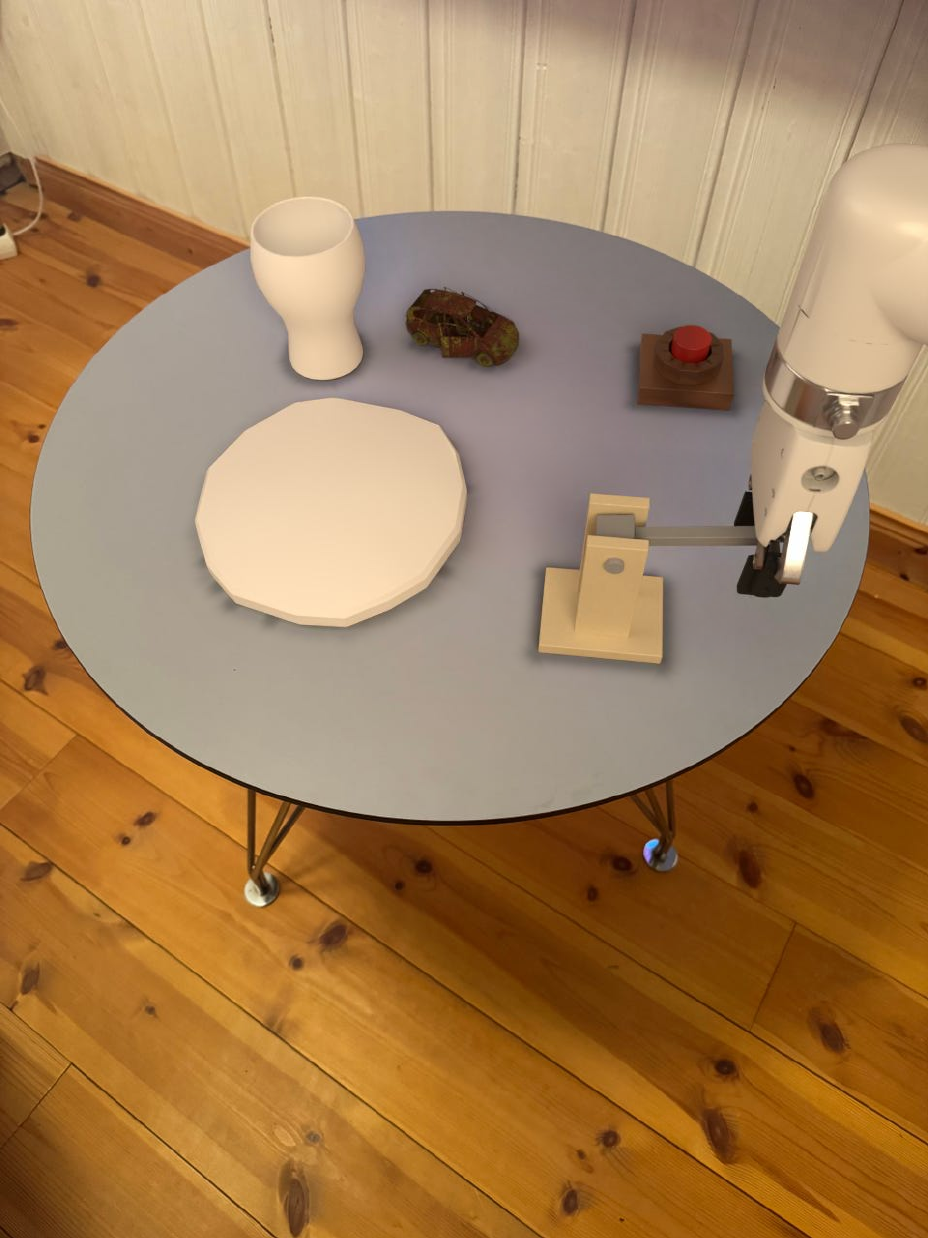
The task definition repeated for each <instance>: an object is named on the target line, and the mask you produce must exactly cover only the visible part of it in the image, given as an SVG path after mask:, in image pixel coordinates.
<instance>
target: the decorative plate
mask: <svg viewBox="0 0 928 1238" xmlns="http://www.w3.org/2000/svg"><path fill="white" fill-rule="evenodd" d="M205 471H206V472H205V475H204V481H203V484H202V488H201V493H200V497H199V501H198V505H197V509H196V513H195V517H194V524H195V528H196V532H197V536H198V539H199V542H200V546H201V550H202V554H203V557H204V562H205V565H206V568H207V570H208V572H209V574H210V575H211V577H212V578H213V579H214V581H216V583H218V585H219V586H220V587H221V588H222V589H223V590H224V592H225V593H226V594H227V595H228V596H229V597H230V598H231V600H232V601H233V602H234V603H235V604H237V605H240V606H243V607H245V608H249V609H252V610H256V611H257V612H261V613H264V614H267V615H270V616H272V617H276V618H278V619H282V620H285V621H288V622H291V623H294V624H296V625H301V626H302V625H305V626H321V627H338V628H347V627H350V626H352V625H355V624H358V623H360V622H362V621H365V620H367V619H370V618H372V617H375V616H378V615H380V614H383V613H385V612H388V611H390V610H391V609H393V608H395V607H397V606H398V605H400V604H402V603H404V602H405V601H407V600H409V599H410V598H412V597H414V596H415V595H417V594H419V593H421V592H422V591H424V590H425V589H427V588H428V587H429V585H430V584H431V583H432V582H433V580H434V579H435V577H436V575H437V574H438V573H439V571H440V570H441V569H442V567H443V566H444V564H445V563H446V562H447V560H448V559H449V558H450V556H451V555H452V554H453V552H454V550H455V549H456V547H457V546H458V545H459V543H460V542H461V539H462V533H463V528H464V521H465V515H466V508H467V504H468V503H467V502H468V491H467V490H468V488H467V484H466V479H465V475H464V471H463V467H462V462H461V456H460V454H459V451H457V449H456V447H455V446H454V445H453V443H452V441H451V440H450V439H449V437H448V435H447V434H446V433H445V431H444V430H443V428H442V426H440V424H437V423H434V422H432V421H429V420H426V419H424V418H421V417H418V416H416V415H413V414H412V413H408V412H406V411H404V410H401V409H396V408H391V407H386V406H380V405H376V404H370V403H365V402H360V401H356V400H355V401H354V400H349V399H346V398H345V399H344V398H339V397H326V398H319V399H312V400H311V399H310V400H304V401H303V400H302V401H297V402H296V401H295V402H293V403H292V404H290V405H288V406H286V407H285V408H283V409H281V410H279V411H278V412H276V413H273V414H272V415H270V416H269V417H267V418H264V419H263V420H261V421H259V422H258V423H256V424H254V425H252V426H250V427H249V428H247V429H245V430H244V431H243V432H242V433H241V434H240V435H239V436H238V437H237V438H236V439H235V441H233V443H231V445H229V447H227V448H226V450H224V452H223V453H222V454H221V455H220V456H219V457H218V458H217V459H216V460H215V461H214V462H213V463H212V464H211V465H209V467H208V468H207V469H206V470H205Z"/></svg>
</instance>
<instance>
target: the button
mask: <svg viewBox="0 0 928 1238" xmlns="http://www.w3.org/2000/svg"><path fill="white" fill-rule="evenodd" d="M682 326H683V327H682ZM682 326H681V327H680V326H679V327H680V328H679V329H677V330H676V332H675V333H674V337H673V342H672V347H671V352H672V354H673V356H674V357H675V358H676V359H678V360H681V361H683V362H685V363H698V362H701V361H703V360H704V359H705V358H706V357H707V356H708V352H709V348H710V344H711V335H710V333H709V332H710V331H708V330H707V329H706V328H704V327H702V326H699V325H696V324H695V325H694V324H688V325H687V324H686V325H682Z"/></svg>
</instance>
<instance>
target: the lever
mask: <svg viewBox="0 0 928 1238" xmlns="http://www.w3.org/2000/svg"><path fill="white" fill-rule="evenodd" d="M596 536H606V537H618V538H630V539H642V540H649V547H757V543H758V539H757V537H756V532H755V526H734V525H721V526H720V525H717V526H716V525H714V526H712V525H711V526H710V525H709V526H700V525H699V526H696V525H695V526H691V525H690V526H645V527H635V515H597V525H596ZM768 552H775V553H782V551H781V543H780V542H771V544H770V546H769V549H768Z"/></svg>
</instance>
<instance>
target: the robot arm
mask: <svg viewBox="0 0 928 1238" xmlns="http://www.w3.org/2000/svg"><path fill="white" fill-rule="evenodd" d="M814 221H815V222H814V224H813V227H812V230H811V233H810V236H809V240H808V242H807V245H806V248H805V252H804V254H803V257H802V260H801V263H800V267H799V269H798V272H797V275H796V279H795V281H794V284H793V287H792V290H791V294H790V296H789V298H788V302H787V305H786V308H785V311H784V314H783V317H782V320H781V322H780V327H779V330H778V332H777V335H776V337H775V341H774V342H773V343H774V344H773V347H772V350H771V353H770V356H769V358H768V361H767V364H766V368H765V371H764V373H763V376H762V381H761V383H762V384H761V386H762V389H761V390H762V393H763V397H764V402H763V404H762V407H761V410H760V412H759V415H758V418H757V421H756V425H755V427H754V431H753V434H752V440H751V447H750V470H751V471H750V472H751V473H750V475H749V478H748V485H747V487H748V491H747V490H745V491H744V492H743V496H742V499H741V501H740V504H739V507H738V510H737V512H736V515H735V518H734V520H733V526H755V532H756V537H757V539H758V543H757V546H755V551H754V553H753V554H749V555H747V558H746V561H745V563H744V565H743V568H742V570H741V573H740V576H739V578H738V580H737V583H736V593H737V594H739V595H744V596H753V597H756V598H765V599H767V598H779V597H781V596H782V595H783V593H784V592H785V589H786V587H787V586H788V585H793V586H800V584H801V582H802V579H803V578H802V577H803V572H804V567H805V560H806V555H807V551H808V545H809V541H810V540H811V545H812V550H813V553H826V552H828V551H829V550H830V549H831V548H832V547H833V545H834V543H835V541H836V540H837V537H838V534H839V533H840V530H841V528H842V526H843V524H844V521H845V519H846V516H847V515H848V512H849V510H850V508H851V505H852V503H853V500H854V498H855V495H856V493H857V491H858V488H859V485H860V482H861V480H862V476H863V474H864V471H865V468H866V465H867V462H868V459H869V455H870V452H871V448H872V443H873V439H874V432H875V431H874V430H875V429H877V428H878V427H880V425H882V424H883V423H884V422H885V421H886V419H887V417H888V416H889V414H890V412H891V411H892V408H893V407H894V405H895V403H896V400H897V398H898V396H899V395H900V393H901V390H902V389H903V387H904V385H905V383H906V381H907V379H908V376H909V375H910V373H911V370H912V369H913V367H914V365H915V363H916V361H917V359H918V357H919V355H920V353H921V352H922V349H923V347H924V345H925V346H927V347H928V146H927V145H923V144H915V143H906V142H903V143H902V142H901V143H887V144H880V145H876V146H874V147H873V146H872V147H869V148H867V149H864V150H861V151H859V152H858V153H856V154H854V155H853V156H852V157H850V158H848V159H847V160H846V161H845V162H844V163H842V164H841V166H840V167H839V168H838V169H837V170H836V171H835V173H834V174H833V176H832V177H831V178H830V181H829V183H828V185H827V188H826V190H825V193H824V195H823V197H822V200H821V203H820V206H819V210H818V212H817V216H816V218H815V220H814ZM809 539H810V540H809ZM771 542H780V544H781V543H782V549H781V553H775V552H768V549H769V546H770V544H771Z"/></svg>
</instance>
